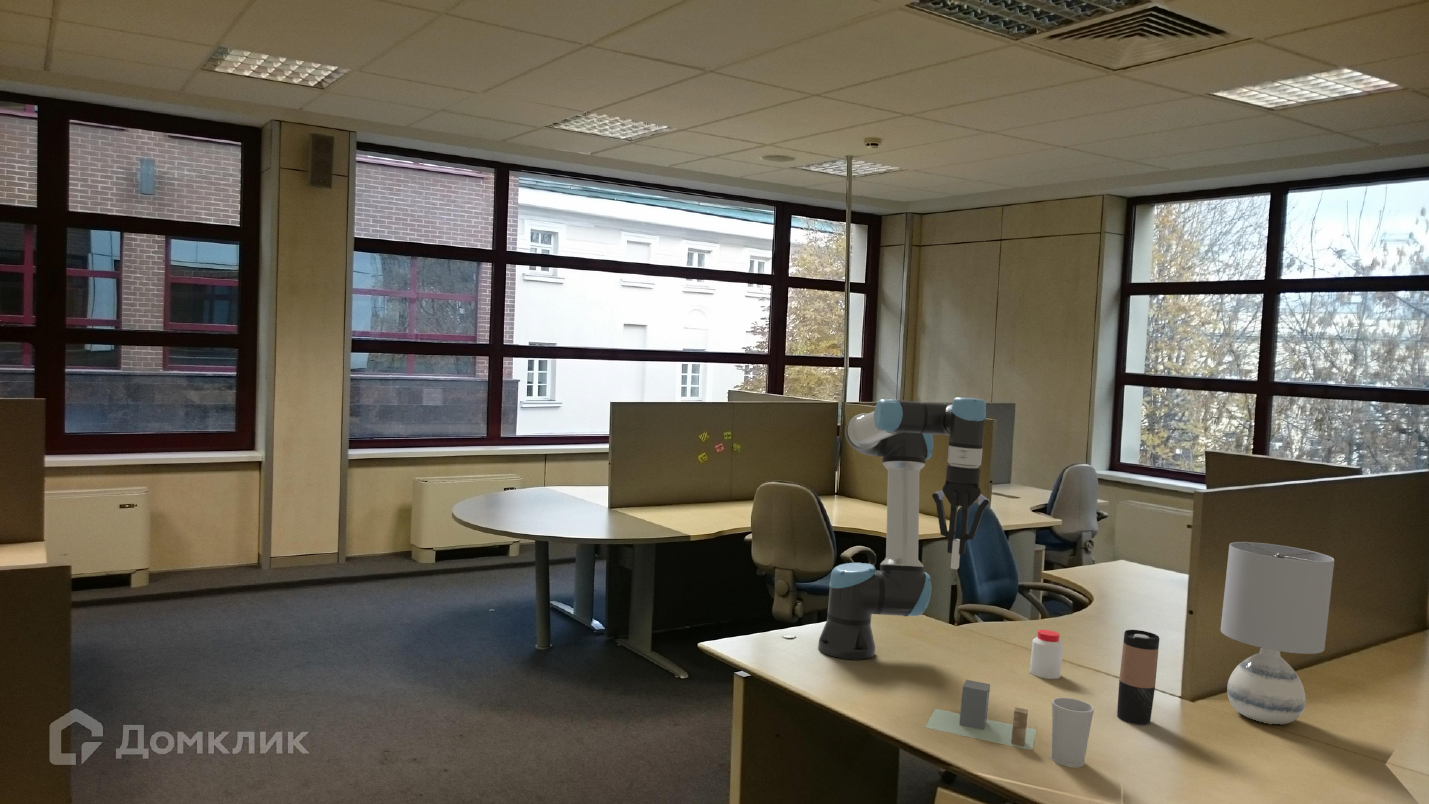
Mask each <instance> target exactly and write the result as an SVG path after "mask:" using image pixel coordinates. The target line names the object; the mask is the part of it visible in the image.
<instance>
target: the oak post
mask: <svg viewBox="0 0 1429 804" xmlns="http://www.w3.org/2000/svg"><path fill="white" fill-rule="evenodd" d="M1028 713H1029V709H1026V708H1020V707H1018V706H1015V707H1014V710H1013V718H1012V720H1013V721H1012V725H1013V728H1012V739H1011V744H1015V745H1020V746H1024V744H1025V737H1026V727H1027V725H1028V716H1029V715H1028ZM1027 728H1028V727H1027Z"/></svg>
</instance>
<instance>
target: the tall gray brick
mask: <svg viewBox="0 0 1429 804" xmlns="http://www.w3.org/2000/svg"><path fill="white" fill-rule="evenodd" d="M961 690H962V693H961V702H960V711H959V712H960V713H959V714H960V723H959V725H962V726H967V727H971V728H976V729H981V730H984V728H985V725H986V723H987V719H988V711H989V701H990V700H989V699H990V691H991V684H990V683H985V682H981V681H975V680H969V679H965V682H964V684H963V685H962V689H961Z"/></svg>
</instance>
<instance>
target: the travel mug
mask: <svg viewBox="0 0 1429 804" xmlns="http://www.w3.org/2000/svg"><path fill="white" fill-rule="evenodd" d="M1123 634H1124V635H1123V641H1122V651H1121V652H1122V654H1121V661H1120V669H1119V677H1118V678H1119V680H1118V681H1119V682H1118V695H1117V697H1118V698H1117V709H1116V710H1117V711H1116V717H1117V718H1118V719H1119V720H1121V721H1123V722H1126V723H1129V724H1133V725H1139V726H1146V725H1149V724H1150V723H1151V719H1152V712H1153V704H1154V696H1155V688H1156V682H1157V671H1158V670H1157V668H1158V657H1159V646H1160V636H1159V635H1157V634H1156V633H1154V632H1150V631H1145V630H1140V629H1127V630H1125V631H1124V632H1123Z"/></svg>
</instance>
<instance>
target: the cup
mask: <svg viewBox="0 0 1429 804" xmlns="http://www.w3.org/2000/svg"><path fill="white" fill-rule="evenodd" d="M1094 710H1095V707H1094V706H1093V705H1092V704H1091V703H1088V702H1087V701H1083V700H1080V699H1077V698H1071V697H1055V698H1053V699H1052V700H1051V721H1052V722H1051V723H1052V724H1051V725H1052V726H1051V757H1050V760H1052V761H1053V762H1054V763H1055V764H1058V765H1060V766H1063V767H1067V768H1082V767H1084V766H1085V758H1086V754H1087V748H1088V743H1089V738H1090V732H1091V726H1092V720H1093V716H1094V713H1095V712H1094Z"/></svg>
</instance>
